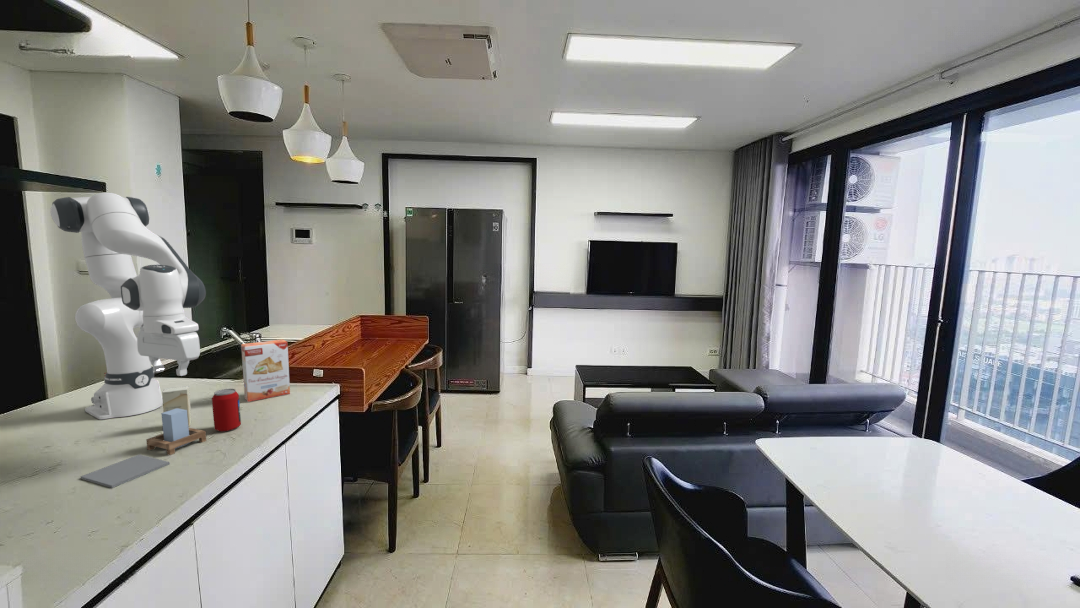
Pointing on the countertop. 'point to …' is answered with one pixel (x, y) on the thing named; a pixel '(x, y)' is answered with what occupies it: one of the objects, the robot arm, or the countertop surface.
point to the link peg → (175, 425)
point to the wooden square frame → (170, 446)
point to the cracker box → (265, 369)
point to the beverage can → (226, 410)
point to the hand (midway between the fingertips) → (170, 373)
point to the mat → (124, 470)
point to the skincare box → (177, 400)
